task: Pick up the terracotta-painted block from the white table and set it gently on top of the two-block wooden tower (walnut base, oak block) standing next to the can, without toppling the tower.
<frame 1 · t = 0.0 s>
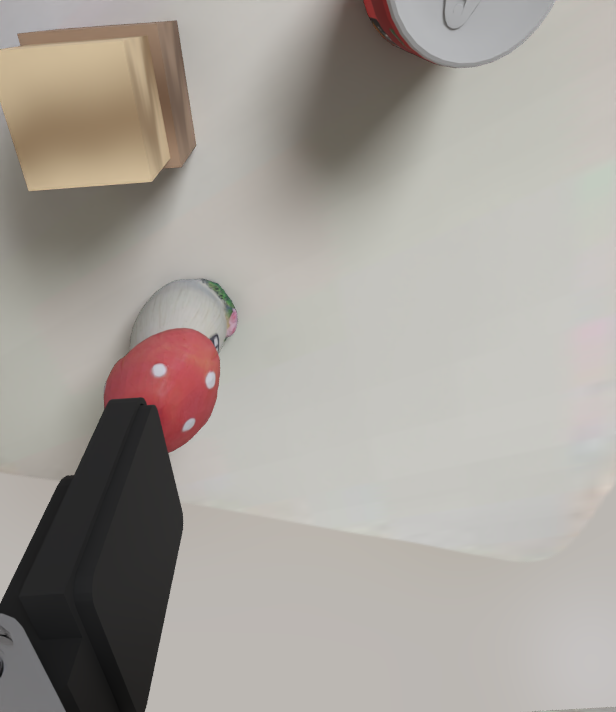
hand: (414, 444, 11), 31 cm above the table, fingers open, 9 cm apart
decorative ornament: (190, 317, 44), on the table
oak block: (103, 104, 31), point 6 cm above the table, touching walnut base
walnut base: (130, 89, 36), on the table, touching oak block
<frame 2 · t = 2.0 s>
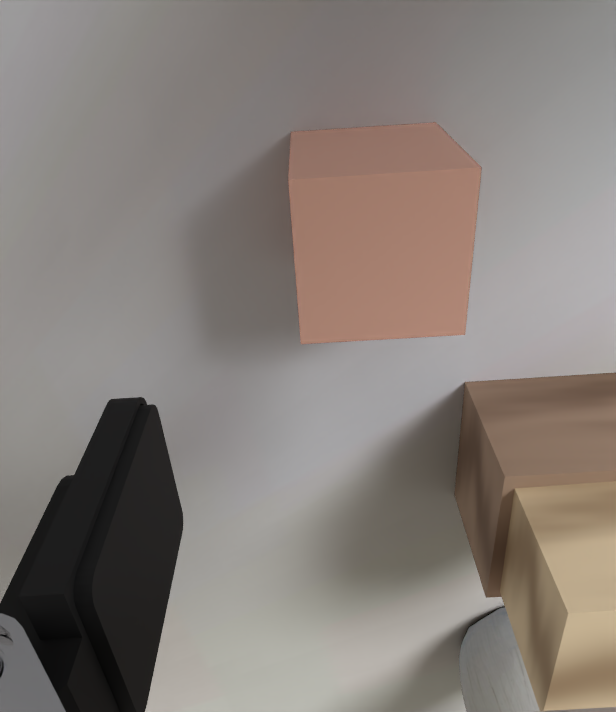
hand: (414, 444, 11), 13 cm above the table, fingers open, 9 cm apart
decorative ornament: (510, 630, 36), on the table
oak block: (584, 538, 23), point 6 cm above the table, touching walnut base
terracotta block: (363, 198, 21), on the table
walnut base: (532, 436, 28), on the table, touching oak block
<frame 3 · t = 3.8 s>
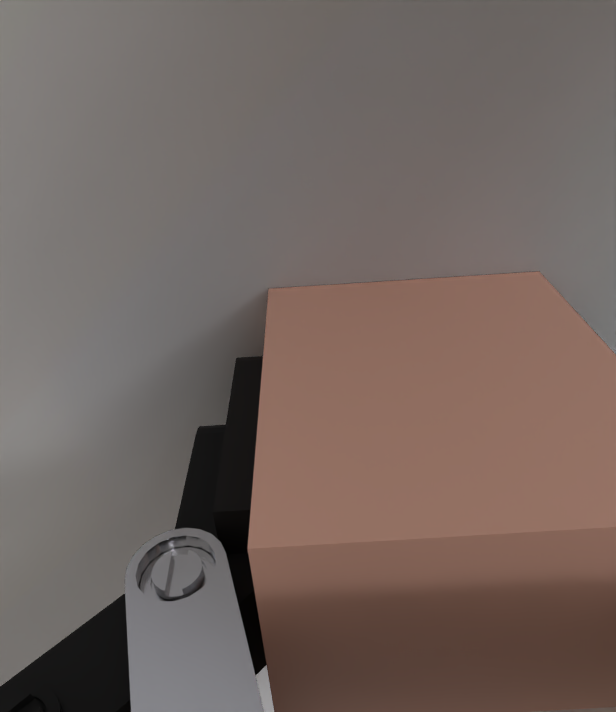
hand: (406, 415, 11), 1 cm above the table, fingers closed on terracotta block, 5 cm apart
terracotta block: (400, 391, 12), on the table, touching gripper
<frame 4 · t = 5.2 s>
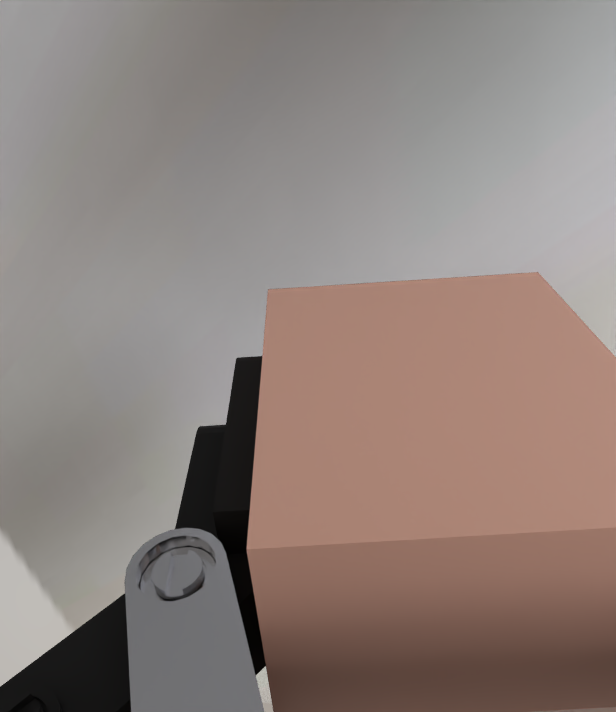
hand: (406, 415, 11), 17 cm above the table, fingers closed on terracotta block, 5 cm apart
terracotta block: (399, 391, 12), point 17 cm above the table, touching gripper
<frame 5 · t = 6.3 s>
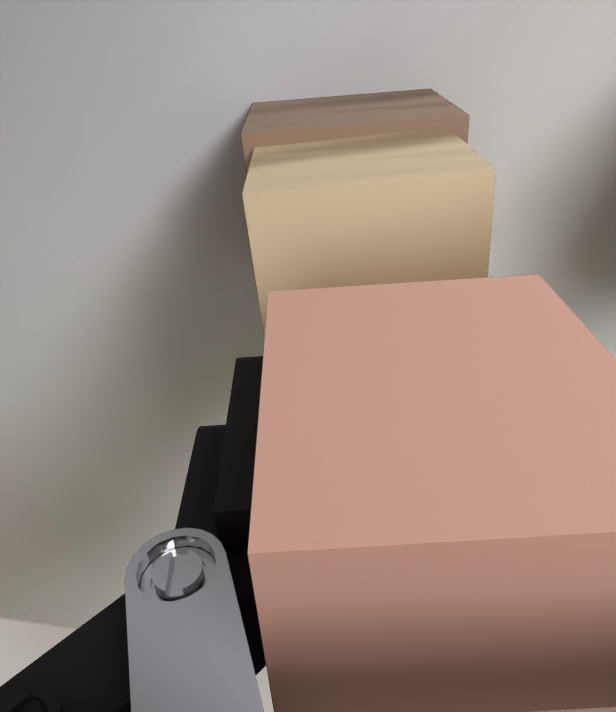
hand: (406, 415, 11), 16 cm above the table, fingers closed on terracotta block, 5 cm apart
oak block: (355, 230, 20), point 6 cm above the table, touching walnut base
terracotta block: (400, 393, 12), point 15 cm above the table, touching gripper
walnut base: (344, 184, 25), on the table, touching oak block
when the fingers open (13 cm above the table, at t = 7.1 s): terracotta block drops 1 cm, resting on oak block.
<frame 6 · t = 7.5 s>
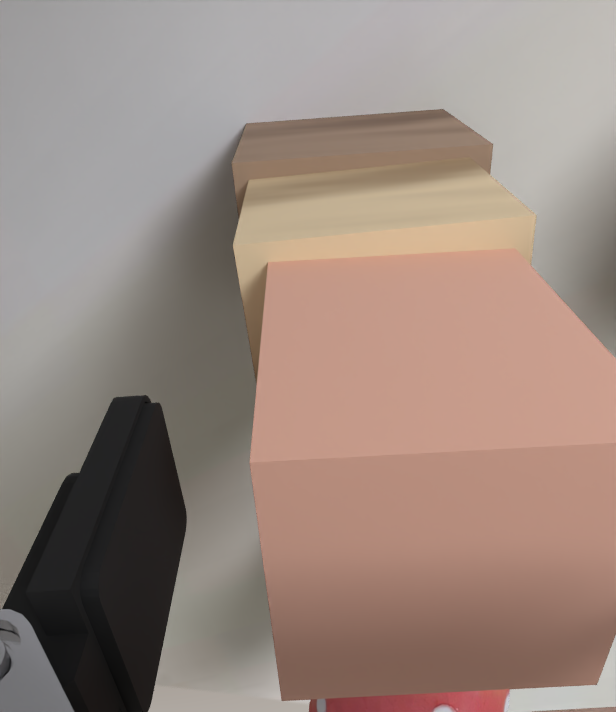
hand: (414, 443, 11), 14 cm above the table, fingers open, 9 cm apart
decorative ornament: (374, 504, 31), on the table
oak block: (363, 271, 17), point 6 cm above the table, touching terracotta block, walnut base
terracotta block: (388, 360, 13), point 11 cm above the table, touching oak block
walnut base: (347, 212, 22), on the table, touching oak block
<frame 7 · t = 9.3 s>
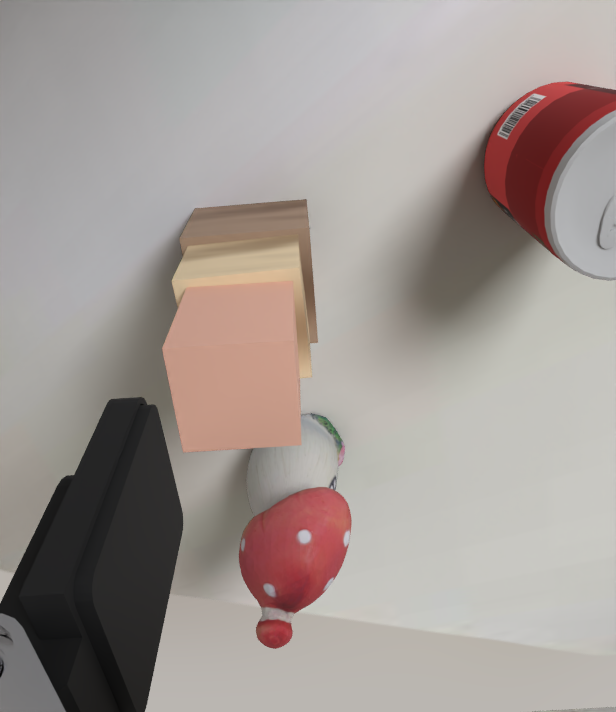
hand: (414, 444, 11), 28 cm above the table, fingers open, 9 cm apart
decorative ornament: (295, 446, 46), on the table
oak block: (251, 291, 33), point 6 cm above the table, touching terracotta block, walnut base
terracotta block: (245, 331, 28), point 11 cm above the table, touching oak block
walnut base: (257, 256, 38), on the table, touching oak block
canned food: (541, 151, 35), on the table
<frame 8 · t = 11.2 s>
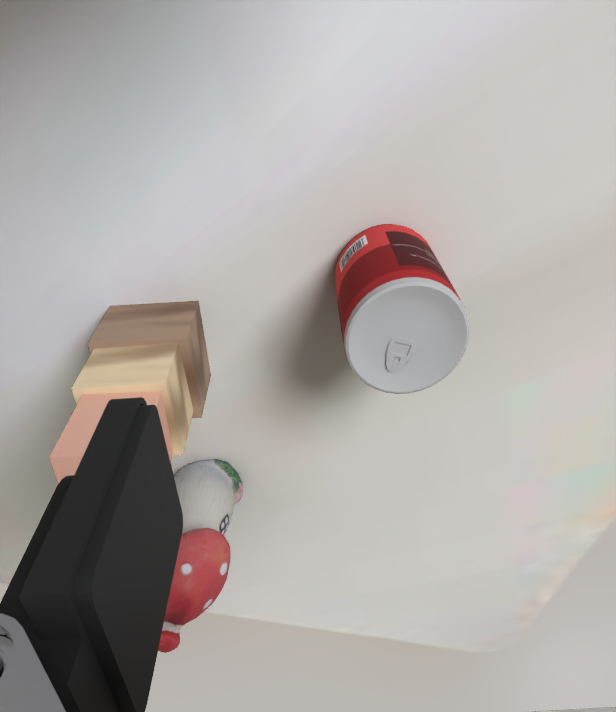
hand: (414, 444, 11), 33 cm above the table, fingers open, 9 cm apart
decorative ornament: (205, 483, 56), on the table
oak block: (145, 380, 42), point 6 cm above the table, touching terracotta block, walnut base
terracotta block: (129, 423, 38), point 11 cm above the table, touching oak block
walnut base: (162, 341, 48), on the table, touching oak block
canned food: (382, 269, 45), on the table
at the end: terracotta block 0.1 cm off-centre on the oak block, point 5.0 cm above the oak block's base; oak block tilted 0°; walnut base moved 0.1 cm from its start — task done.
